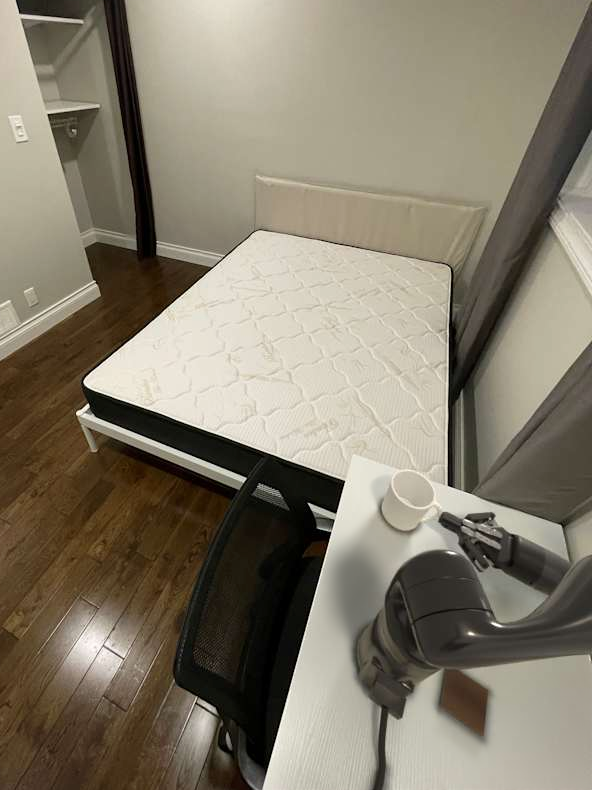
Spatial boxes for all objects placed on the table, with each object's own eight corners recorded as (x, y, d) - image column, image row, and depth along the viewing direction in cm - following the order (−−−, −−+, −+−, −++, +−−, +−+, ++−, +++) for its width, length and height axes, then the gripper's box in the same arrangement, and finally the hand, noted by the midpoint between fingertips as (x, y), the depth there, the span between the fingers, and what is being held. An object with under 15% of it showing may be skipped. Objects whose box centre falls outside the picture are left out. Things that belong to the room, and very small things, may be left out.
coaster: (481, 736, 55) (483, 735, 54) (439, 706, 57) (441, 705, 57) (485, 691, 59) (488, 690, 58) (446, 665, 61) (448, 663, 61)
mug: (372, 515, 81) (383, 490, 75) (389, 487, 86) (401, 461, 80) (421, 549, 76) (438, 525, 69) (435, 517, 81) (452, 492, 75)
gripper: (547, 527, 70) (452, 482, 77) (547, 593, 61) (439, 535, 68) (528, 544, 75) (440, 500, 82) (525, 608, 66) (426, 552, 73)
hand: (439, 516), depth 75 cm, fingers closed
